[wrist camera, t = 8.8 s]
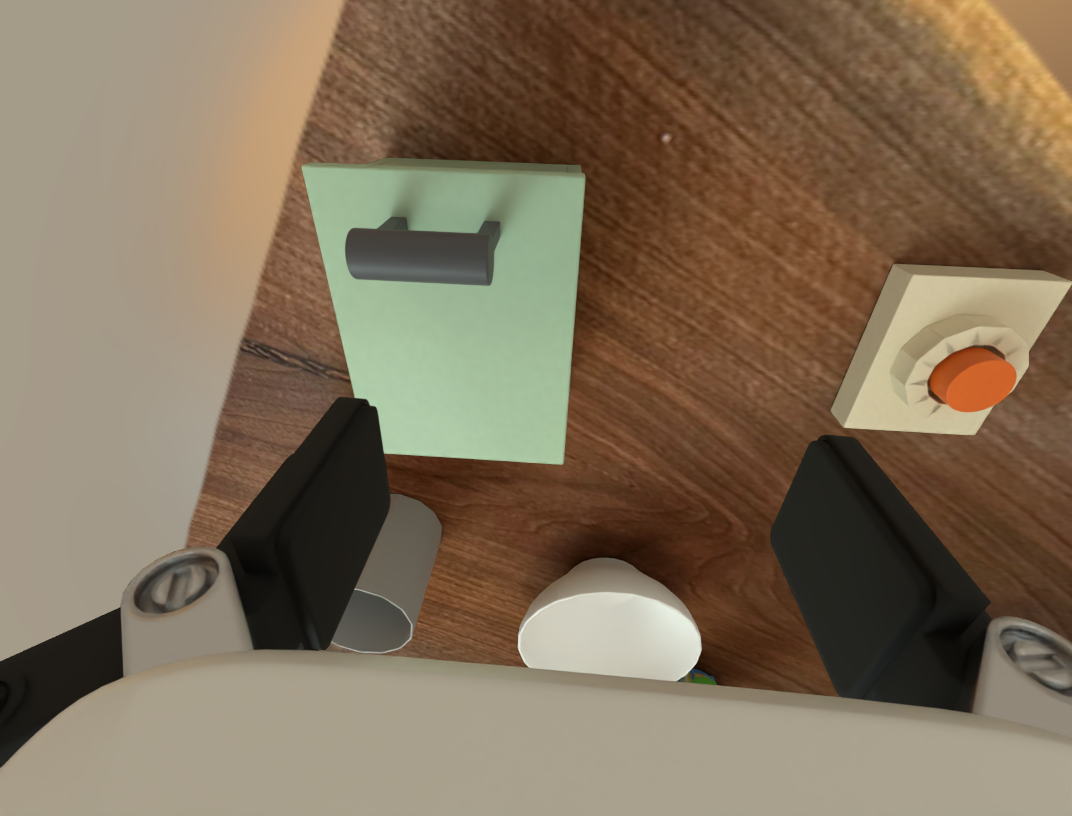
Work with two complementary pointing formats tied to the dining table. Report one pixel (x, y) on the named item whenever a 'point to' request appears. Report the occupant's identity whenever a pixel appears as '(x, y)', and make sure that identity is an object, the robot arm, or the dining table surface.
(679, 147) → the dining table surface
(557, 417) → the lid
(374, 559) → the cup
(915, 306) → the panel
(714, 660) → the dining table surface
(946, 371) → the button
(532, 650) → the bowl
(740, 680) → the dining table surface
